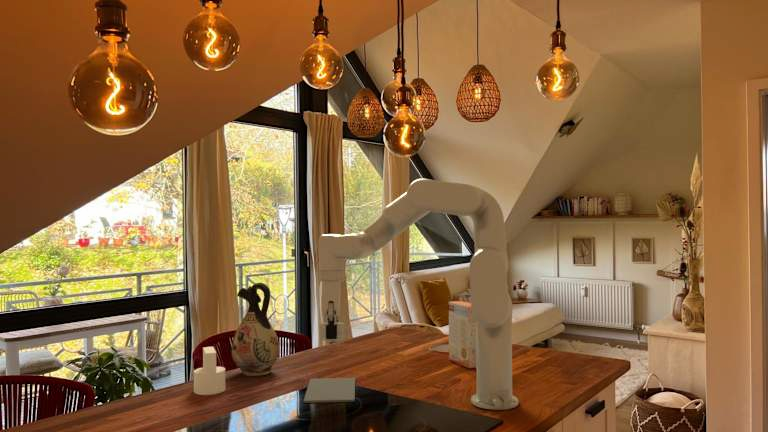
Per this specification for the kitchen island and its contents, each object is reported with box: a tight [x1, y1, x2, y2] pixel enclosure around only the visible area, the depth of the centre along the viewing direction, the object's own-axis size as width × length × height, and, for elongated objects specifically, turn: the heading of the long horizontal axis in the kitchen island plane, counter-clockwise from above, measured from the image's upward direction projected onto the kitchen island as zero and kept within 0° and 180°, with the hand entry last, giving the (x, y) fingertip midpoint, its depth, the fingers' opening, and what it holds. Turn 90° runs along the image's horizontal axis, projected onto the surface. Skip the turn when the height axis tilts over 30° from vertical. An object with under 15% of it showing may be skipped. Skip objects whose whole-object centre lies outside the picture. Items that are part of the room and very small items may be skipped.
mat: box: [303, 377, 356, 404], centre depth 172 cm, size 22×14×1 cm, turn 2°
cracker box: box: [448, 300, 477, 369], centre depth 202 cm, size 14×6×21 cm, turn 22°
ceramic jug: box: [231, 282, 280, 377], centre depth 192 cm, size 17×15×30 cm
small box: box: [319, 321, 346, 343], centre depth 172 cm, size 6×6×5 cm
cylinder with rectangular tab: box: [193, 346, 226, 396], centre depth 174 cm, size 9×9×12 cm
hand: (332, 335), depth 172 cm, fingers closed on small box, 7 cm apart
